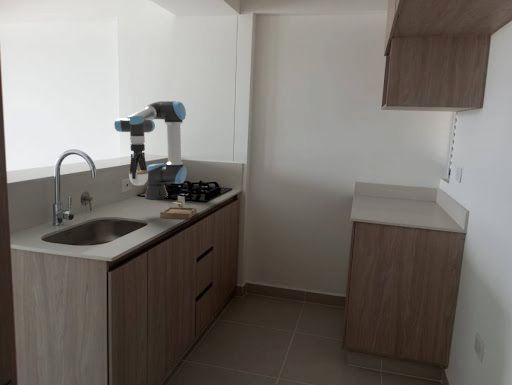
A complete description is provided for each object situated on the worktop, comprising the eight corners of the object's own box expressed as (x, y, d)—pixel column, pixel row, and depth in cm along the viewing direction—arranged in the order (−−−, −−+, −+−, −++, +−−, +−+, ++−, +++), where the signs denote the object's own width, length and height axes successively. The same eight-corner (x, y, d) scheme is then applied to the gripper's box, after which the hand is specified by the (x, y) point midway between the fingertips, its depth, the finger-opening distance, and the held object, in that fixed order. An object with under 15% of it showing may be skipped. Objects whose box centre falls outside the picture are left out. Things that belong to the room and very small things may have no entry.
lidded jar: (132, 186, 231) (131, 169, 229) (126, 184, 240) (126, 167, 238) (151, 185, 237) (150, 168, 235) (145, 182, 246) (144, 166, 244)
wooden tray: (169, 211, 247) (169, 206, 247) (196, 212, 245) (196, 208, 245) (160, 217, 231) (160, 212, 231) (188, 219, 230) (188, 214, 229)
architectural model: (180, 209, 255) (180, 197, 254) (172, 208, 259) (172, 196, 258) (184, 209, 258) (184, 196, 257) (176, 207, 262) (176, 195, 260)
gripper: (139, 142, 246) (140, 179, 250) (122, 144, 223) (123, 186, 227) (151, 142, 245) (152, 180, 249) (135, 145, 223) (137, 186, 226)
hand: (138, 183), depth 238 cm, fingers closed on lidded jar, 11 cm apart
